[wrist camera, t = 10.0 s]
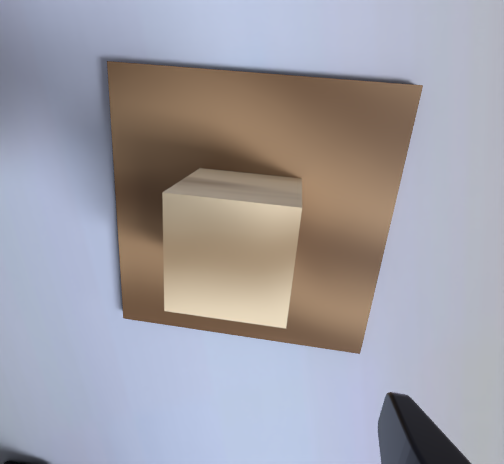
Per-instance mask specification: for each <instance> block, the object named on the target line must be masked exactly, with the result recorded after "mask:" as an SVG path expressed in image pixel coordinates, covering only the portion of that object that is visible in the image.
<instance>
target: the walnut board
mask: <svg viewBox="0 0 504 464" xmlns="http://www.w3.org/2000/svg"><path fill="white" fill-rule="evenodd" d="M107 68H108V84H109V99H110V115H111V131H112V147H113V162H114V178H115V194H116V210H117V225H118V241H119V257H120V273H121V288H122V304H123V318H125V319H131V320H138V321H145V322H151V323H158V324H165V325H171V326H178V327H185V328H191V329H198V330H205V331H211V332H218V333H225V334H231V335H238V336H245V337H251V338H258V339H265V340H271V341H278V342H285V343H291V344H298V345H305V346H311V347H318V348H325V349H331V350H338V351H345V352H351V353H358V354H360V351H361V347H362V343H363V339H364V334H365V330H366V326H367V322H368V317H369V313H370V309H371V305H372V300H373V296H374V292H375V288H376V283H377V279H378V275H379V271H380V266H381V262H382V258H383V253H384V249H385V245H386V241H387V236H388V232H389V228H390V224H391V219H392V215H393V211H394V207H395V202H396V198H397V194H398V190H399V185H400V181H401V177H402V173H403V168H404V164H405V160H406V156H407V151H408V147H409V143H410V138H411V134H412V130H413V126H414V121H415V117H416V113H417V109H418V104H419V100H420V96H421V92H422V87H423V85H410V84H397V83H384V82H371V81H358V80H345V79H332V78H319V77H306V76H293V75H280V74H267V73H254V72H241V71H228V70H215V69H202V68H189V67H176V66H163V65H150V64H137V63H124V62H111V61H107ZM199 168H203V169H213V170H223V171H233V172H243V173H252V174H262V175H272V176H282V177H292V178H301V179H302V213H301V221H300V228H299V236H298V243H297V251H296V258H295V266H294V273H293V281H292V288H291V296H290V303H289V311H288V318H287V326H286V328H279V327H272V326H265V325H258V324H251V323H244V322H237V321H230V320H223V319H216V318H209V317H202V316H195V315H189V314H182V313H175V312H168V311H164V259H163V198H162V192H164V191H165V190H167V189H169V188H170V187H172V186H173V185H175V184H176V183H178V182H179V181H181V180H182V179H184V178H186V177H187V176H189V175H190V174H192V173H193V172H195V171H196V170H198V169H199Z"/></svg>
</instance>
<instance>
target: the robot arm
mask: <svg viewBox="0 0 504 464" xmlns="http://www.w3.org/2000/svg"><path fill="white" fill-rule="evenodd" d="M378 437H379V446H380V455H381V464H471V463H470V462H469V460H468V459H467V458H466V457H465V456H464V455H463V454H462V453H461V452H460V451H459V450H458V448H457V447H456V446H455V445H454V444H453V443H452V442H451V441H450V440H449V439H448V438H447V437H446V435H445V434H444V433H443V432H442V431H441V430H440V429H439V428H438V427H437V426H436V425H435V423H434V422H433V421H432V420H431V419H430V418H429V417H428V416H427V415H426V414H425V413H424V411H423V410H422V409H421V408H420V407H419V406H418V405H417V404H416V403H415V402H414V401H413V400H412V398H410V397H409V396H408V395H405V394H399V393H393V392H389V393H387V395H386V396H385V399H384V403H383V406H382V410H381V413H380V417H379V421H378ZM4 464H19V463H14V462H9V461H6V462H4Z"/></svg>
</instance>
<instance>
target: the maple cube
mask: <svg viewBox="0 0 504 464" xmlns="http://www.w3.org/2000/svg"><path fill="white" fill-rule="evenodd" d="M162 198H163V259H164V311H168V312H175V313H182V314H189V315H195V316H202V317H209V318H216V319H223V320H230V321H237V322H244V323H251V324H258V325H265V326H272V327H279V328H286V326H287V318H288V311H289V303H290V296H291V288H292V281H293V273H294V266H295V258H296V251H297V243H298V236H299V228H300V221H301V213H302V179H301V178H292V177H282V176H272V175H262V174H252V173H243V172H233V171H223V170H213V169H203V168H199V169H198V170H196V171H195V172H193V173H192V174H190V175H189V176H187V177H186V178H184V179H182V180H181V181H179V182H178V183H176V184H175V185H173V186H172V187H170V188H169V189H167V190H165V191H164V192H162Z"/></svg>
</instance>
